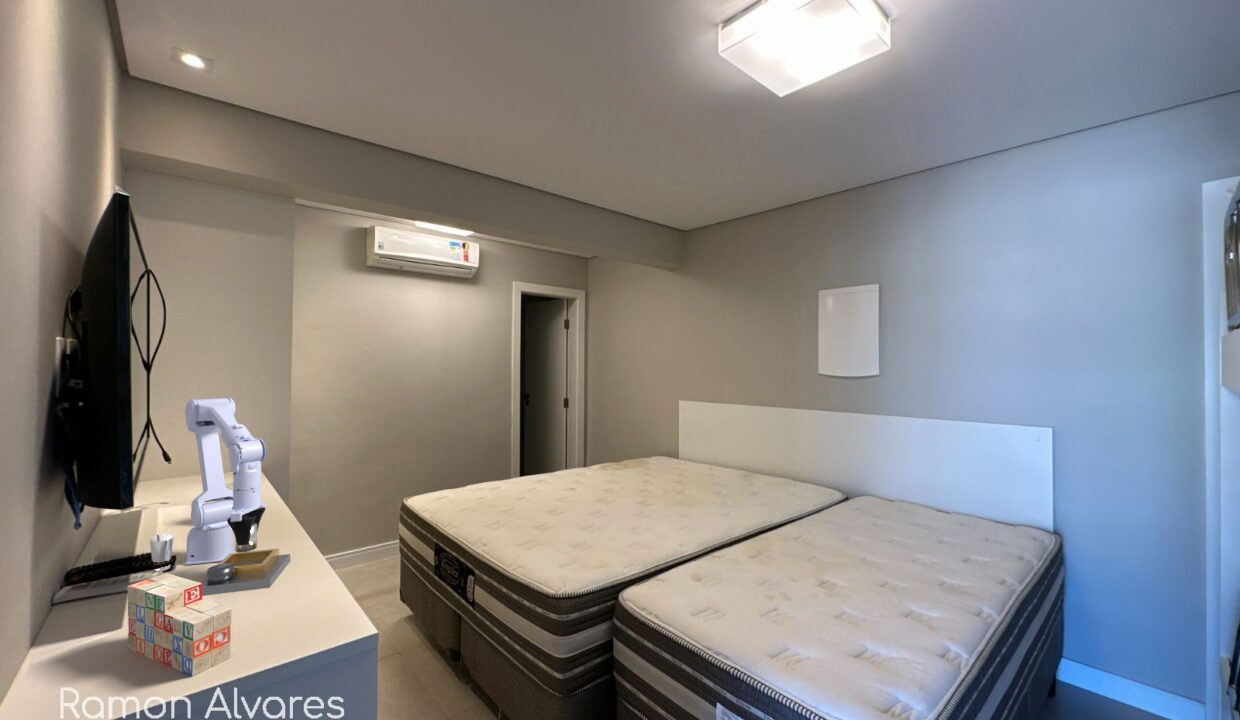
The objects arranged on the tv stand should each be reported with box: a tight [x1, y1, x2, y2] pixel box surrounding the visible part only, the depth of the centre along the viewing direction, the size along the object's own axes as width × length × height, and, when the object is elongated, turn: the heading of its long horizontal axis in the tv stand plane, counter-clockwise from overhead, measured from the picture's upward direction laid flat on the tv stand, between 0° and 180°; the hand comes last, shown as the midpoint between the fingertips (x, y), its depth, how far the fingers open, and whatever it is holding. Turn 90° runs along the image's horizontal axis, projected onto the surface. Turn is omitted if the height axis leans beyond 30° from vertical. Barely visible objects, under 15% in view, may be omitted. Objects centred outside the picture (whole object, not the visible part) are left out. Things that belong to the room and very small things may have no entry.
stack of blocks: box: [127, 572, 232, 677], centre depth 93 cm, size 21×6×12 cm, turn 67°
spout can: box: [234, 523, 258, 553], centre depth 126 cm, size 4×4×7 cm
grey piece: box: [202, 547, 291, 596], centre depth 125 cm, size 14×16×5 cm
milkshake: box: [149, 532, 175, 572], centre depth 129 cm, size 4×5×10 cm
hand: (246, 541), depth 126 cm, fingers closed on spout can, 4 cm apart
